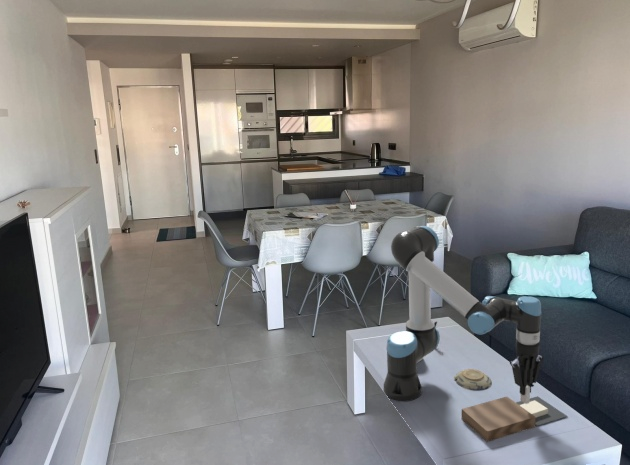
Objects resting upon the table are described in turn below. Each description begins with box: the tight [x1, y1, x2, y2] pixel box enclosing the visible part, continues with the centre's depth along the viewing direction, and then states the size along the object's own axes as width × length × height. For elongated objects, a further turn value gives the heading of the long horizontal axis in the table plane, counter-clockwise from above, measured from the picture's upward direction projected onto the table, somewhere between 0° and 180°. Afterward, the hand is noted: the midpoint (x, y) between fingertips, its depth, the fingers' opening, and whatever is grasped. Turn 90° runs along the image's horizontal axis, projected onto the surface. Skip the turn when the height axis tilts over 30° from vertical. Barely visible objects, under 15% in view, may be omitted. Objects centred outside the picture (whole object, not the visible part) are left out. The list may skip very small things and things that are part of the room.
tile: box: [520, 400, 548, 418], centre depth 174 cm, size 9×6×2 cm, turn 111°
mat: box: [516, 395, 568, 427], centre depth 175 cm, size 14×14×1 cm
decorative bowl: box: [453, 368, 493, 391], centre depth 197 cm, size 15×4×15 cm
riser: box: [461, 396, 536, 443], centre depth 169 cm, size 20×14×4 cm
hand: (524, 401), depth 172 cm, fingers closed
